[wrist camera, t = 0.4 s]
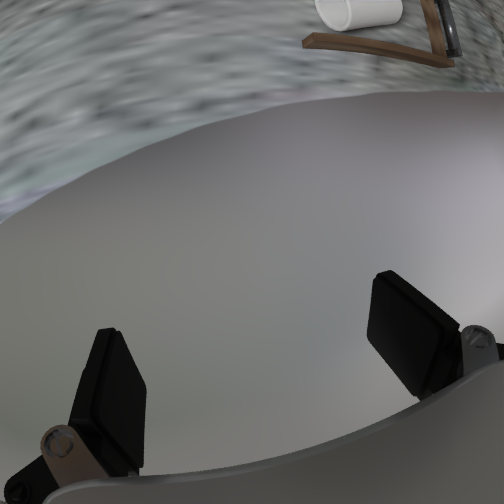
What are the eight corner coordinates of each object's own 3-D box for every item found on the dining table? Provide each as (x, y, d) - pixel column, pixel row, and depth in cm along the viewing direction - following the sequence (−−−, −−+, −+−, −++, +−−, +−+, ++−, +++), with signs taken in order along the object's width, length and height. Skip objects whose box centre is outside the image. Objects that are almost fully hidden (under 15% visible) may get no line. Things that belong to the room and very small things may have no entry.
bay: (283, -48, 25) (292, -62, 21) (430, -10, 29) (445, -15, 25) (303, 48, 32) (315, 39, 28) (449, 71, 36) (466, 70, 32)
